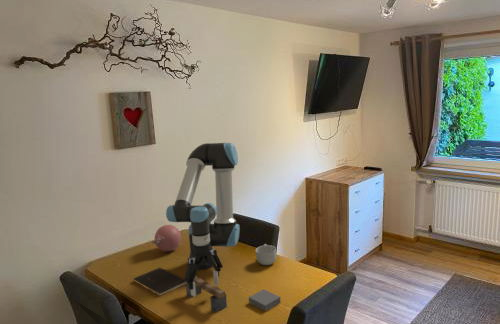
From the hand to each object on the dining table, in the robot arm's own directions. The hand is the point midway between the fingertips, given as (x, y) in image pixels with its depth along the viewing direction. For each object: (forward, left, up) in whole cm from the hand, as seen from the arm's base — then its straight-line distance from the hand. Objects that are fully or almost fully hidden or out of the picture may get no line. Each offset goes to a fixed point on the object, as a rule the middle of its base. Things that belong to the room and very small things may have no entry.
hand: (205, 289), depth 167 cm
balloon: (-62, +18, -6) cm, 65 cm away
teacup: (-7, +46, -6) cm, 47 cm away
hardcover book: (-31, -4, -6) cm, 32 cm away
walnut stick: (0, 0, +1) cm, 1 cm away
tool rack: (0, 0, -5) cm, 5 cm away
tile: (+16, +16, -4) cm, 23 cm away
